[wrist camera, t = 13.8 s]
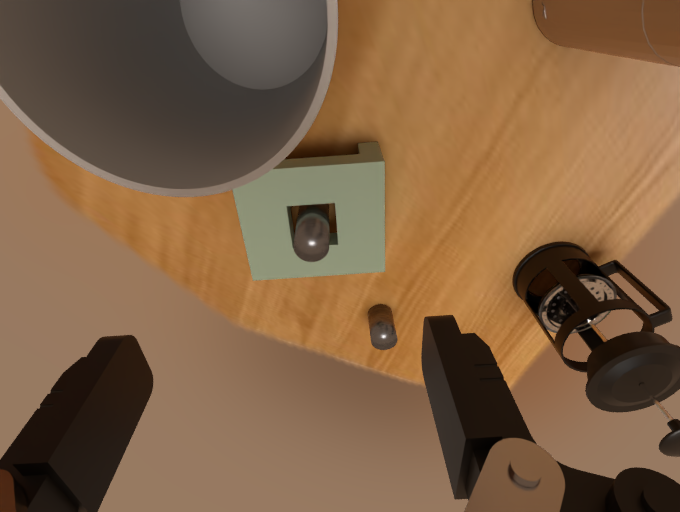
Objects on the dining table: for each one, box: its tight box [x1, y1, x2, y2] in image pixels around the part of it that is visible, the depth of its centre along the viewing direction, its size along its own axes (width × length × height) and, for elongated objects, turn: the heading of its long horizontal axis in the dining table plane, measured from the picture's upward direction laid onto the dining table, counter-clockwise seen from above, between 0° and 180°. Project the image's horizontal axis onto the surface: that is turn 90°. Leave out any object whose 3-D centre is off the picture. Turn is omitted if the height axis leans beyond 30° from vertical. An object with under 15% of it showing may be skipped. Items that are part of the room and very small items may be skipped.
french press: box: [513, 242, 680, 457], centre depth 40 cm, size 12×9×23 cm
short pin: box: [368, 304, 397, 350], centre depth 50 cm, size 3×3×5 cm
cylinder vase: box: [0, 0, 338, 197], centre depth 23 cm, size 12×12×25 cm
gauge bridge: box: [233, 142, 385, 281], centre depth 41 cm, size 14×12×6 cm
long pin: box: [293, 203, 329, 262], centre depth 39 cm, size 3×3×10 cm
